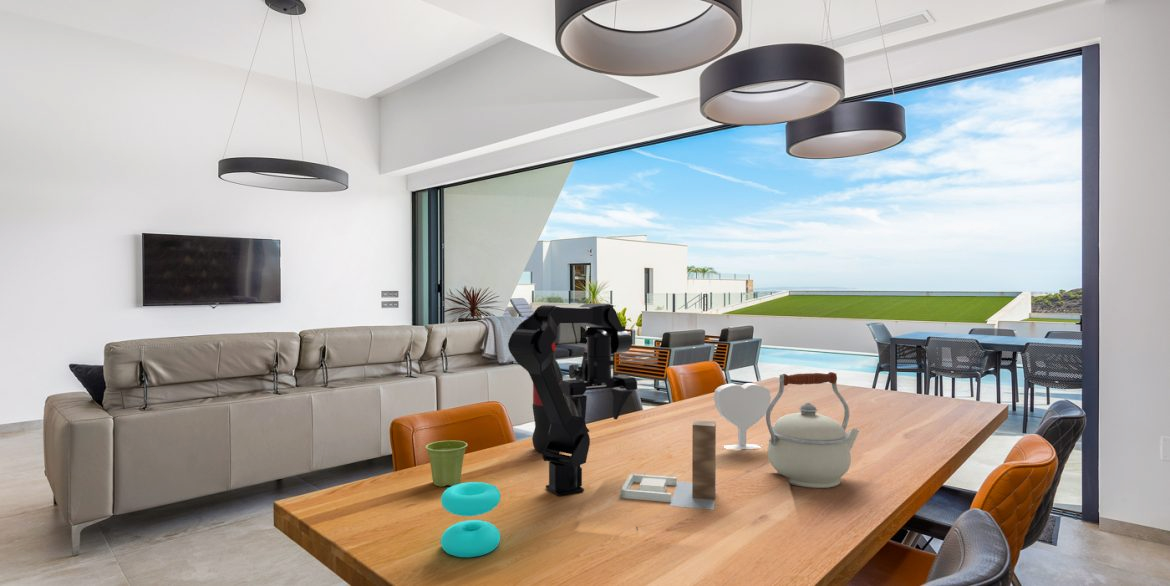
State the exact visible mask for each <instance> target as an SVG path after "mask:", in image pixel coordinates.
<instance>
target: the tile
mask: <svg viewBox="0 0 1170 586" xmlns="http://www.w3.org/2000/svg"><path fill="white" fill-rule="evenodd" d="M639 490H640V491H651V492H663V493H666V491H667V485H666V479H655V478H643V479H642V481H641V483H639Z"/></svg>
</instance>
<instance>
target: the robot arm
mask: <svg viewBox="0 0 1170 586" xmlns="http://www.w3.org/2000/svg"><path fill="white" fill-rule="evenodd" d="M560 324H580V325H581V326H584V327H586V328H587V329H586V330H585V331H584V332H583V333H582V334H581V337H582V338H586V339H587V340H586V341H587V343H586V345H587V347H586V350H587V355H586V356H587V357H586V359H584V361H583V366H579V364H570V365H568V375H569V378H570V379H566V380H565V379H564V380H563V381H562V382H561V384H560V385H559V383H558V381H557V378H556V376H555V373H554V371H553V368H552V366H551V359H552V354H553V350H552V344H553V343H555V341H556V339H557V338H558V326H559V325H560ZM543 325H546V327H545V328H544V330H539V329H541V327H542V326H543ZM632 345H633V339H632V336H631V334H630V333H629V332H628V331H627V330H626V325H622V323H621V320H620V318H619V316H618V313H617V311H616V309H615V308H614V305H613V303H604V302H603V303H596V302H595V303H594V302H593V303H591V302H589V303H585V304H581V305H580V306H578V307H577V306H576V307H575V306H558V305H555V304H554V305H549V304H542V305H540V306H538V307H537V308H536V309H535V311H534V312H533V313H532V314H530V316H528V317H527V318H526V319H524V320H523V321H522V322H520V324H518V326H517V327H516V329H515V330H514V331H513V332H512V333H511V335H510V337H509V340H508V343H507V347H508V350H509V352H510V354H511V356H512V358H513V359H514V360H515V362H516V363H517V364H518V365H519V366H521V368H523V369H524V370H525V371H526V372H527V373H528V375H529V377H530V379H531V381H532V385H533V384H534V386H535V388H536V391H537V393H538V395H539V397H540V400H541V402H542V404H543V407H544V409H545V411H546V413H547V416H548V418H549V420H550V423H551V426H550V429H549V437H550V439H549V441H548V443H547V445H546V446H545V448H544V450H543V452H541V454H542V460H543V461H544V462H548V484H547V485H545V489H546V490H548V491H549V492H551V493H553V494H555V495H556V496H559V497H560V496H566V495H570V494H576V493H581V492H585V488H583V487H582V486H583V468H582V467H581V465H583V464H586V463H587V458H588V454H589V449H590V445H591V440H590V439H591V438H590V435H589V433H590V429H588V427H587V424H586V415H587V414H586V412H587V400H588V395H585V393H586V391H589V390H590V391H593V390H603V389H610V391H611V395H612V417H613V419H614V420H618V419H619V416H620V414H621V412H622V410H623V408H624V405H625V404H626V401H627V400H628V399H629V397H630V395H631V394H633V393H634V391H633V390H638V381H637V379H636V377H634V376H628V375H624V374H623V375H614V376H612V366H615V360H612V355H613V354H614V355H615V354H616V355H617V354H621V353H623V354H624V353H627V352H628V351H629V350H630V349H631V348H632ZM565 396H566V397H568V398H570V399H571V401H572V403H573V405H574V407H575V410H576V413H577V415H576V416H575V415H573V414H572V412H571V410H570V407H569V405H568V402H567V401H566V400H567V399H566V397H565ZM562 453H564V454H562ZM567 454H568V455H567Z"/></svg>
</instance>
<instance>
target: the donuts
mask: <svg viewBox="0 0 1170 586" xmlns="http://www.w3.org/2000/svg"><path fill="white" fill-rule="evenodd" d="M501 499H502V498H501V492H500V490H499V488H498V487H497V486H496V485H493V484H492V483H489V482H488V483H487V482H483V481H482V482H481V481H469V482H462V483H461V482H460V483H458V484H456V485H453V486H450V487H447V488H446V489H445V490H444V491H443V492H442V495H441V497H440V502H441V506H442V507H443V508H444V510H445V511H447V512H448V513H451V514H452V515H455V516H462V517H473V516H474V517H475V516H480V515H483V514H486V513H488V512H490V511H492V510H494V509H495V508H496V507H497V506H498V505H499V503H500V501H501ZM500 542H501V533H500V530H499V529H498V527H496V526H495V525H494V524H493V523H491V522H489V521H485V520H480V519H468V520H463V521H460V522H457V523H454V524H453V525H451V526H449V527H448V528H446V530H444V532H443V533H442V535H441V538H440V545H441V547H442V550H443V551H445V552H446V553H447V554H448V555H450V556H454V557H459V558H475V557H481V556H483V555H486V554H489V553H491V552H493V551H494V550H495V549H496V548H497V547H498V546H499V543H500Z"/></svg>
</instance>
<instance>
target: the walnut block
mask: <svg viewBox="0 0 1170 586" xmlns="http://www.w3.org/2000/svg"><path fill="white" fill-rule="evenodd" d="M716 428H717V423H716V421H713V420H712V421H711V420H695V419H694V420H693V423H692V434H691V435H692V437H691V438H692V439H691V440H692V443H691V444H692V445H691V446H692V447H691V448H692V450H691V451H692V455H691V456H692V457H691V458H692V460H691V461H692V463H691V464H692V466H691V467H692V470H691V471H692V473H691V475H692V479H691V482H692V498H699V499H711V500H716V494H717V493H716V492H717V485H716V484H717V481H716V479H717V476H716V475H717V474H716V473H717V472H716V470H717V469H716V465H717V461H716V460H717V459H716V458H717V456H716V453H717V452H716V448H717V447H716V446H717V445H716V444H717V443H716V442H717V441H716V440H717V438H716V436H717V433H716V431H717V430H716Z"/></svg>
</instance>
